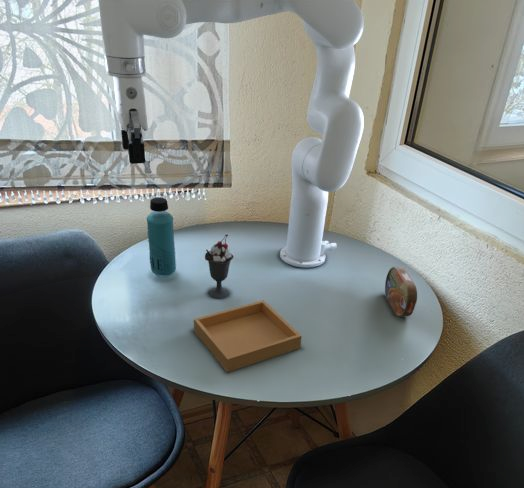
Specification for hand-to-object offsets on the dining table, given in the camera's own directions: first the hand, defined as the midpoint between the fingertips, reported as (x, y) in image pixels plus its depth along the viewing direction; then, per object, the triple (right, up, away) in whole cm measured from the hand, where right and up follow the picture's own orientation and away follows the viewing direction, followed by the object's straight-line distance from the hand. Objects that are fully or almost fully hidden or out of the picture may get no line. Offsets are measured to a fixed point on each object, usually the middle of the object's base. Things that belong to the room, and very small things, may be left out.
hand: (133, 155), depth 111 cm
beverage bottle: (+2, -23, +21) cm, 31 cm away
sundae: (+17, -28, +15) cm, 36 cm away
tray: (+24, -40, +1) cm, 46 cm away
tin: (+61, -31, +16) cm, 70 cm away
